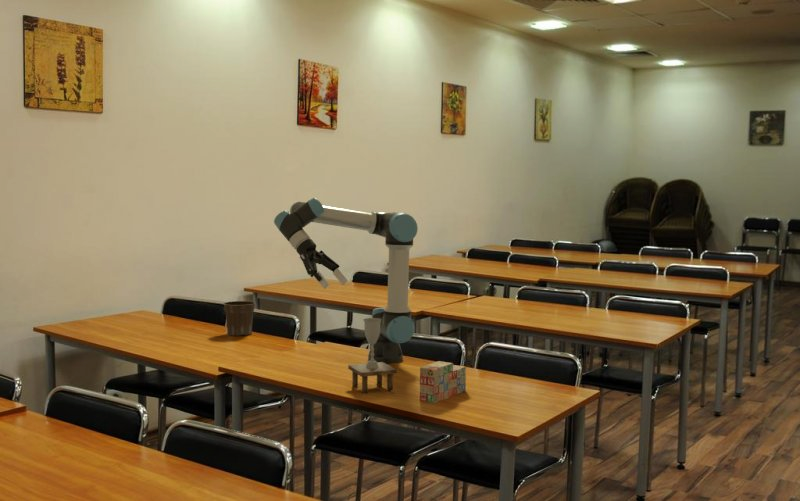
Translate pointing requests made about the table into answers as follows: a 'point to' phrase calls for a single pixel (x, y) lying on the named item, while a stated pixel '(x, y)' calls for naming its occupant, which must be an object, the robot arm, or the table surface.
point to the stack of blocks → (441, 381)
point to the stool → (365, 372)
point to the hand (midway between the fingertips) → (336, 284)
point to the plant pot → (239, 317)
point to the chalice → (372, 338)
